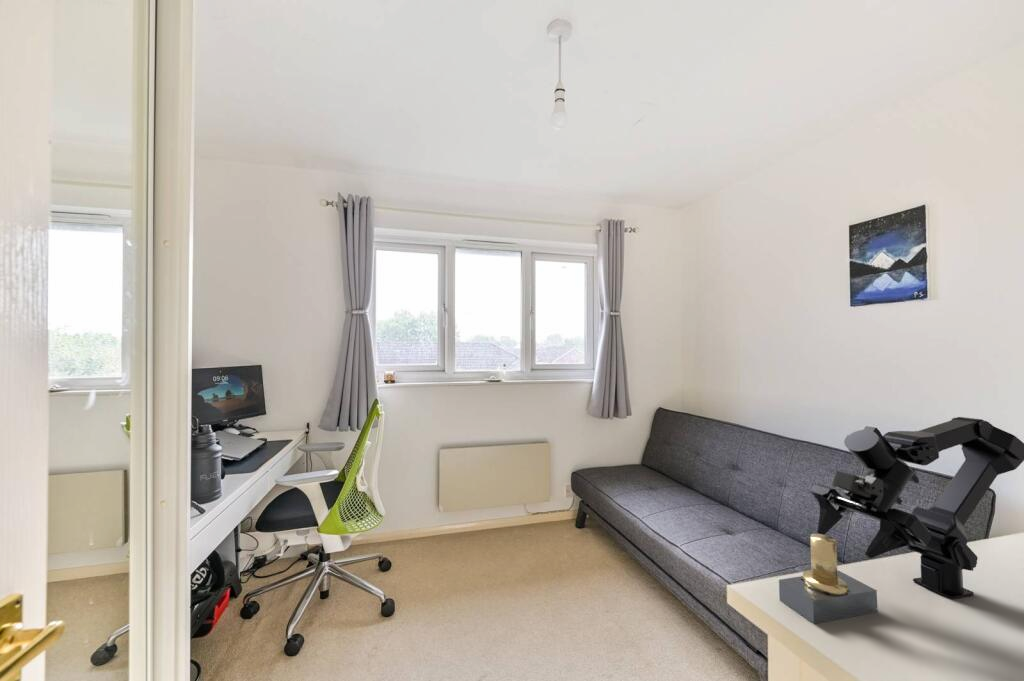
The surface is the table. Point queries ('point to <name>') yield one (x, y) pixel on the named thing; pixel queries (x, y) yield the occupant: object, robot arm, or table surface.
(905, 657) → the table surface
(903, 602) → the table surface
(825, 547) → the brass pin
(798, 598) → the steel hitch block
